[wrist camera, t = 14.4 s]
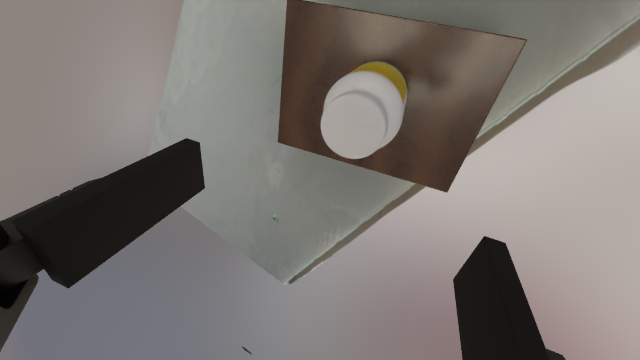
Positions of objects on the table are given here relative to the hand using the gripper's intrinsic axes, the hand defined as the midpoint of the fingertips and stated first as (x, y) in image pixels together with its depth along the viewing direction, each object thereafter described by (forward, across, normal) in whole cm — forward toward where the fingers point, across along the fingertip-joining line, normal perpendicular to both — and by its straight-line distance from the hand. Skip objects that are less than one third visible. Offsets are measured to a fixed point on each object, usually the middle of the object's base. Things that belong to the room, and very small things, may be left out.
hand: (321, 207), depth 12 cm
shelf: (+30, -1, 0) cm, 30 cm away
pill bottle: (+20, -1, +1) cm, 20 cm away
